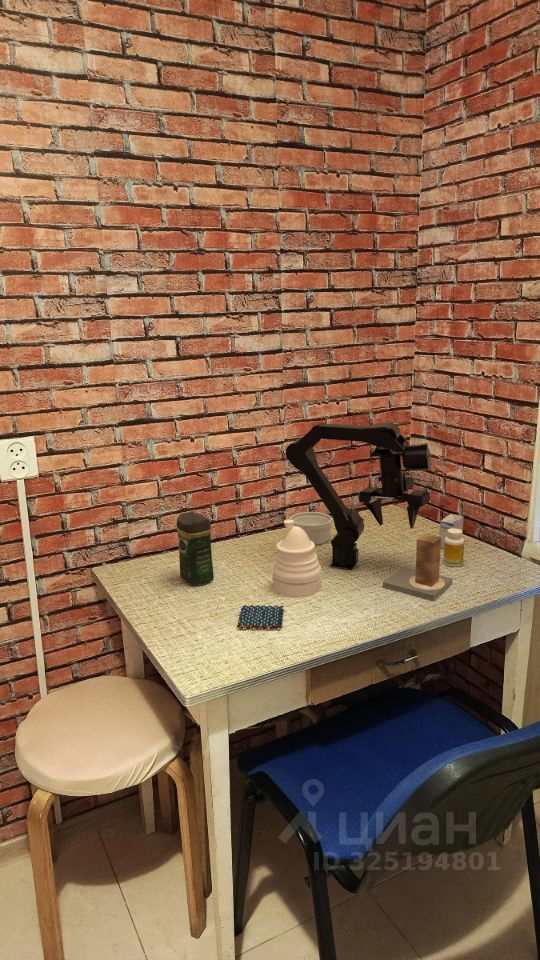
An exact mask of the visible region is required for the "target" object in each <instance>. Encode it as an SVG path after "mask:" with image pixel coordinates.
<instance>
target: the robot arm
mask: <svg viewBox="0 0 540 960" xmlns="http://www.w3.org/2000/svg"><path fill="white" fill-rule="evenodd" d="M401 433H402V432H401V429H400V427H399V426H398V425H397V424H396V423H395V422H382V423H374V424H370V425H355V424H338V423H325V422H322V421H321V422H318V423H316V424H314V425H313V426H312V427H311V428H310V430H309V431H308V432H307V433H305V435H304V436H302V437H301V438H299V439H297V440H295V441H293V442H291V443H290V444H289V445H287V447H286V448H285V453H284V455H285V458H286V459H287V461H289V463H290V464H291V465H292V466H293V467H294V468H295V469H296V470H298V471H299V472H300V473H302V474H303V475H304V476H305V477H306V479H307V480H308V482H309V483H310V485H311V486H312V488H313V490H314V491H315V493H316V494H317V495H318V497H319V499H321V501H322V503H323V505H324V506H325V508H326V509H327V510H328V511H329V512H328V513H330V516H331V518H332V521H333V523H334V527H335V530H336V534H335V535H334V536H333V538H332V539H331V540H330V542H329V543H330V545H331V549H332V553H331V554H332V555H331V556H332V557H331V561H332V562H331V563H330V564H329V566H330V567H331V568H337V569H344V570H350V571H351V570H354V568H355V567H356V566H357V564H358V563H359V557H360V556H359V555H360V554H359V552H360V551H359V548H358V547H357V546H358V543H357V541H358V540H359V539H360V537H361V536H362V534H363V532H364V531H365V524H364V521H365V519H364V517H362V516H361V515H360V513H359V511H358V509H357V508H353V509H352V510H351V509H350V508H348V506H346V505H345V503H344V502H343V500H342V499H341V498H342V497H340V496H339V493H338V492H337V491H336V489H335V488H334V487H333V485H332V483H331V482H330V480H329V479H328V477H327V476H326V475H325V473H324V471H323V470H322V469H321V467H320V465H319V462H318V459H317V454H316V451H315V449H314V447H315V446H316V445H317V444H318V443H319V442H320V441H321V440H332V441H333V440H335V441H344V442H345V441H347V442H350V441H351V442H362V443H366V444H368V445H371V446H373V447H375V448H374V450H373V451H372V452H371V453H370V456H371V457H378V463H379V464H378V465H379V472H380V475H379V476H378V482H381V488H380V487H375V486H367V487H366V488H363V489H362V490H361V491H359V493H358V502H359V503H363V504H362V505H363V506H365V507H366V508H367V509H368V510H369V511H370V513H371V514H372V515H373V517H374V518H375V520H376V522H377V523H378V525H379V526H380V527H381V526H383V524H384V522H383V521H384V519H383V511H382V503H383V502H382V500H393V501H394V500H395V501H405V502H406V504H407V507H406V511H407V517H408V524H409V528H410V529H411V530H412V529H414V527H415V524H416V520H417V517H418V513H419V510H420V509H421V508H422V507H423V506H425V505H426V504H427V503H429V502H431V499H432V498H431V494H430V492H429V491H428V490H427V489H426V490H424V489H423V490H422V489H414V480H415V478H414V477H407V476H406V473H405V471H403V468H404V469H406V470H407V471H410V472H411V471H430V470H431V469H432V454H431V452H430V449H429V443H426V442H425V443H420V444H410V443H409V441H408V440H407V439H406V438H405V437H404V436H403V434H401ZM402 467H403V468H402ZM409 490H410V491H411V490H412V491H411V492H410V493H405V492H408V491H409Z"/></svg>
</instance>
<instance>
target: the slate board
mask: <svg viewBox="0 0 540 960" xmlns="http://www.w3.org/2000/svg"><path fill="white" fill-rule="evenodd" d="M415 574H416V568H411V567H407V566H405V565H403V566H402V567H401V568H399V569H398V570H397V571H395V572H393V574H391V575H390V576H389V577H387V578H386V579H385V580H383V581H382V588H383V589H387V590H391V591H395V592H398V593H403V594H405V595H411V596H414V597H417V598H420V597H421V599H424V598H425V599H424V600H428V601H433V602H435V600H436V599H438V598H439V597H440V596H441V595H442V593H444V592H445V591H446V590H447V589H449V587H450V586H452V585H453V578H452V577H449V576H445V575H440V574H439V581H438V582H437V583H436V584H435V585H433V586H432V587H429V586H426V585H422V584H418V583H415ZM439 595H440V596H439ZM438 596H439V597H438Z"/></svg>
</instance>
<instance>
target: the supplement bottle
mask: <svg viewBox="0 0 540 960" xmlns="http://www.w3.org/2000/svg"><path fill="white" fill-rule="evenodd" d="M447 535H448V536H447V537H446V538H445V540H444V549H443V560H442V562H443V563H444V564H445V565H446V566H449V567H460V566H462V565H463V564H464V553H465V539H464V538H463V533H462V530H460V529H456V528H451V529H448V530H447Z"/></svg>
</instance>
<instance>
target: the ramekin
mask: <svg viewBox="0 0 540 960" xmlns="http://www.w3.org/2000/svg"><path fill="white" fill-rule="evenodd" d="M289 520H293V521H294V524H293V526H298V527H300V528H302V529H303V530H304V531H305V533H306V534H307V536H308V537H309V539H310V541H312V542H313V543H314V544H315V546H316V545H321V544H324V543H327V541H328V540H329V539H330V538H331V537H330V536H331V529H332V524H333V517H332V515H329V514H326V513H323V512H320V511H319V512H318V511H305V512H304V511H302V512H297V513H295V514H292V515H291V516H290V517H289Z"/></svg>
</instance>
